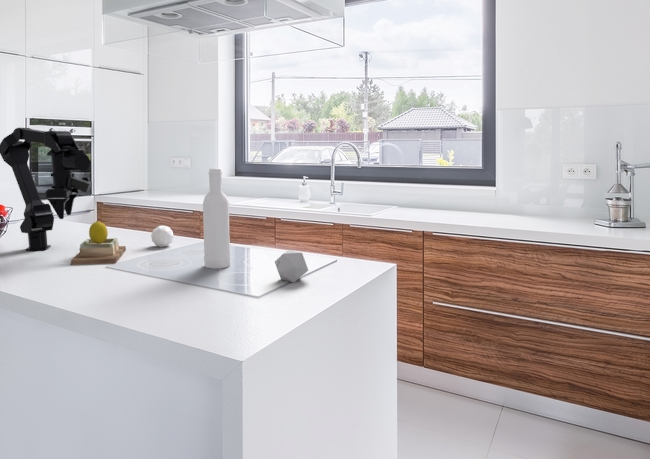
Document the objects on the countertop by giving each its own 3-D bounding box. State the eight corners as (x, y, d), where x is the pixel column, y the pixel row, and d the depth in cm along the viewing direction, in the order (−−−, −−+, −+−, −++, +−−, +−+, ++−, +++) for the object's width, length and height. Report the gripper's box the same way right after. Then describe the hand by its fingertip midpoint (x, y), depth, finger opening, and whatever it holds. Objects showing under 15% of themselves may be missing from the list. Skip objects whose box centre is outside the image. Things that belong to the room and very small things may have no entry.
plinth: (86, 251, 179) (85, 236, 178) (125, 250, 182) (125, 235, 181) (71, 264, 160) (69, 248, 159) (115, 263, 163) (115, 246, 162)
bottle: (230, 268, 157) (228, 169, 152) (203, 269, 156) (200, 168, 151) (230, 262, 165) (228, 167, 160) (205, 263, 164) (202, 167, 159)
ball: (164, 254, 188) (160, 240, 182) (149, 244, 191) (144, 230, 185) (179, 242, 192) (176, 227, 187) (164, 232, 195) (160, 217, 190)
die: (282, 276, 151) (266, 253, 146) (309, 262, 151) (294, 237, 146) (288, 294, 144) (272, 270, 139) (316, 279, 144) (301, 254, 139)
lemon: (101, 246, 167) (100, 222, 166) (86, 246, 168) (84, 221, 167) (111, 243, 173) (110, 219, 171) (96, 243, 174) (95, 219, 172)
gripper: (81, 171, 163) (84, 220, 166) (94, 168, 181) (97, 212, 184) (42, 171, 161) (46, 221, 164) (59, 168, 179) (63, 213, 182)
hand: (65, 216), depth 173 cm, fingers open, 9 cm apart
